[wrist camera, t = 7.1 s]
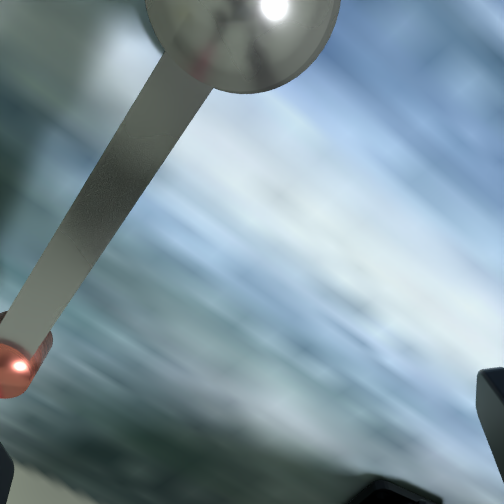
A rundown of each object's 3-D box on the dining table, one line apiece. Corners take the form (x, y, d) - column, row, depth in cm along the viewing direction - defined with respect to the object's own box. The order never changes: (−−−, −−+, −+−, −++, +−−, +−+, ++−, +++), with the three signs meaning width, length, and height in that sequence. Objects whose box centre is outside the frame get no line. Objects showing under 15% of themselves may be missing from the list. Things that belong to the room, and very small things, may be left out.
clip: (61, 379, 15) (40, 420, 13) (-46, 327, 14) (-80, 364, 12) (477, -188, 8) (522, -225, 7) (330, -360, 7) (347, -444, 6)
